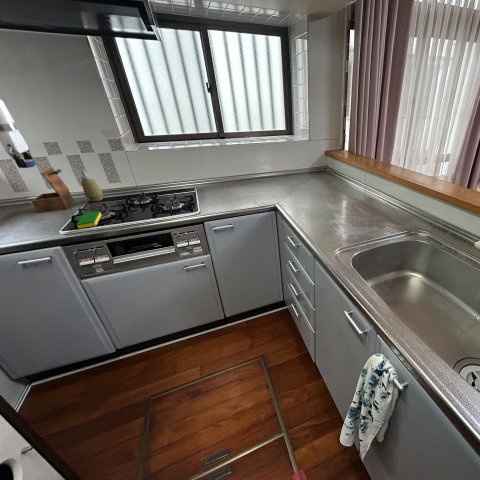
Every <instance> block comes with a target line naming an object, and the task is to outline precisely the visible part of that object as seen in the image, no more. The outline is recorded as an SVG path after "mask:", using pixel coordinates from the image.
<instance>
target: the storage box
mask: <svg viewBox="0 0 480 480" xmlns="http://www.w3.org/2000/svg"><path fill="white" fill-rule="evenodd" d="M31 203H32V205H33V206H34V208H35V209H36V211H37V213H39V214H40V213H48V212H54V211H55V212H56V211H61V210H67V209H69V207H71V206H72V205H73V204H74V203H75V200H74V197H73V196H72V194H71V191H70V190H68V191H67V192H66V193H65V194H63V195H62V196H61V197H59V195H58V194H57V193H56V192H45V193H41V194H39V195H38V196H36V197H35V198H34V199H32V200H31Z"/></svg>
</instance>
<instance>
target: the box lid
mask: <svg viewBox="0 0 480 480" xmlns="http://www.w3.org/2000/svg"><path fill="white" fill-rule="evenodd" d="M60 173H62V170H61V169H60V168H58V169H56V170H55V169H54V167H50V168H48V169H46V170H45V171H42V172H41V176H43V178H44V179H45V180H46V182H47V183H48V184H49V185H50V187H51V188H52V189H53V190H54V191H55V192H56V193H57V194H58V195H59V197H61V196H62V195H63V194H65V193H66V192H67V191H70V189H69V187H68V186H67V185H66V183H65V182H64V180H63V179H62V178H61V177H60V175H59V174H60Z"/></svg>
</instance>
